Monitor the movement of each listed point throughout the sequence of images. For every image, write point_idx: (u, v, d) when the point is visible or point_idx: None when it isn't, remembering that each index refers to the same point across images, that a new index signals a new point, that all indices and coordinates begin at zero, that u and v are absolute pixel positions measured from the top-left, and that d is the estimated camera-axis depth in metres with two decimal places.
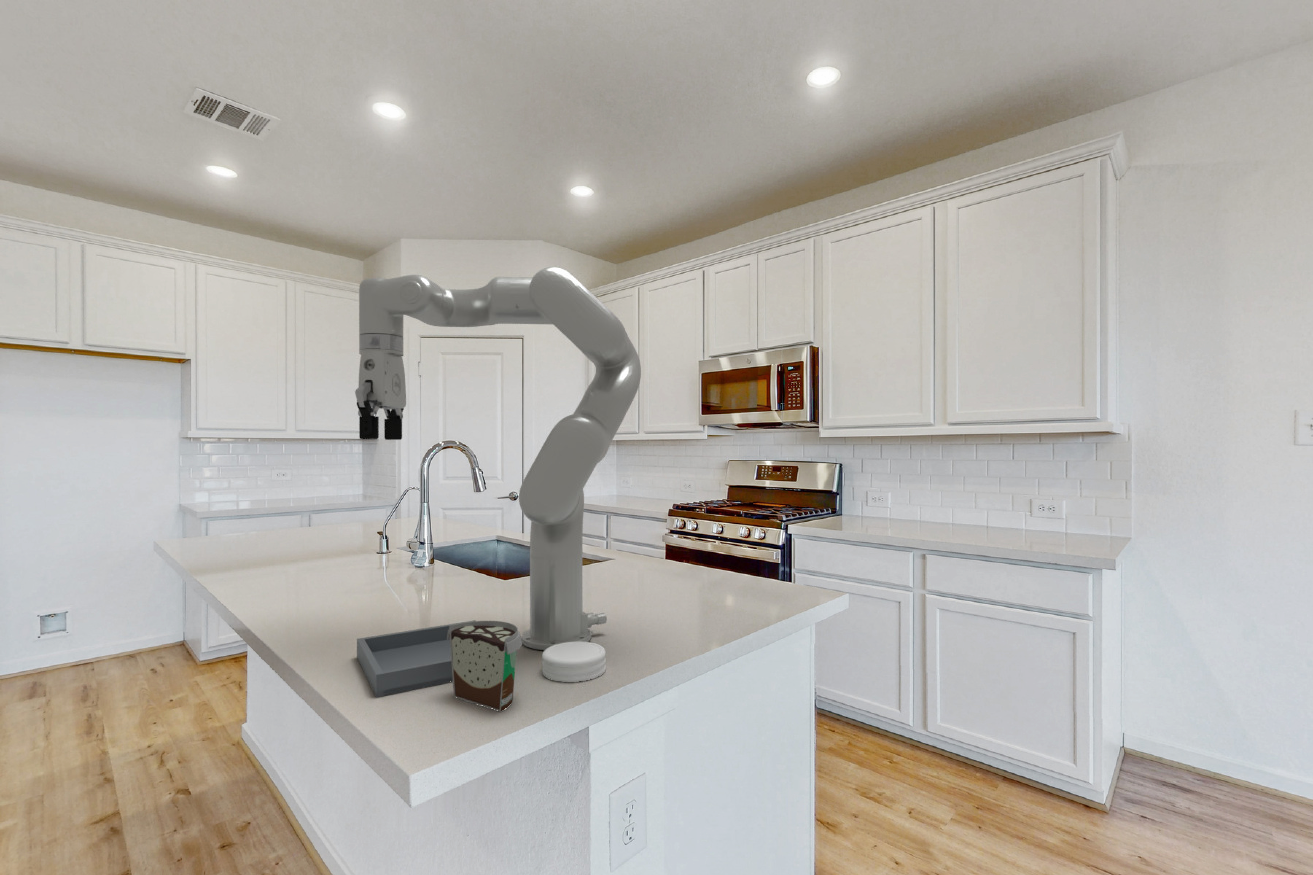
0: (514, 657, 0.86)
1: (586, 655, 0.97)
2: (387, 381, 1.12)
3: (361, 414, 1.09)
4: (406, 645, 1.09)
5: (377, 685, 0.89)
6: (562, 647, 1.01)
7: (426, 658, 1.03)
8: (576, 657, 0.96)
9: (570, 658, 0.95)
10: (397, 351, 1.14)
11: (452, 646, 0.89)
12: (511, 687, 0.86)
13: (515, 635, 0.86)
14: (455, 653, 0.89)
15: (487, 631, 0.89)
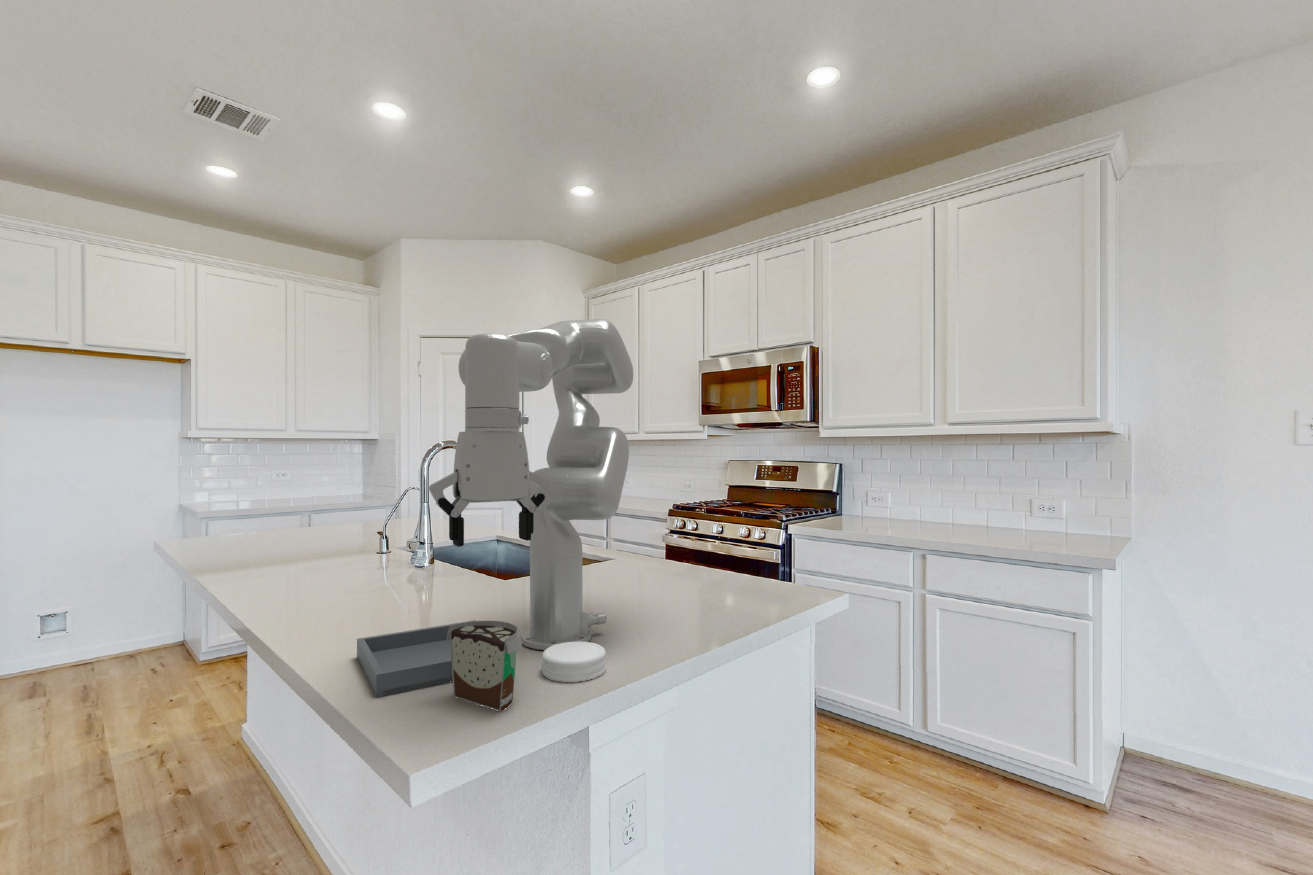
0: (514, 657, 0.86)
1: (586, 655, 0.97)
2: None
3: None
4: (406, 645, 1.09)
5: (377, 685, 0.89)
6: (562, 647, 1.01)
7: (426, 658, 1.03)
8: (576, 657, 0.96)
9: (570, 658, 0.95)
10: None
11: (452, 646, 0.89)
12: (511, 687, 0.86)
13: (515, 635, 0.86)
14: (455, 653, 0.89)
15: (487, 631, 0.89)
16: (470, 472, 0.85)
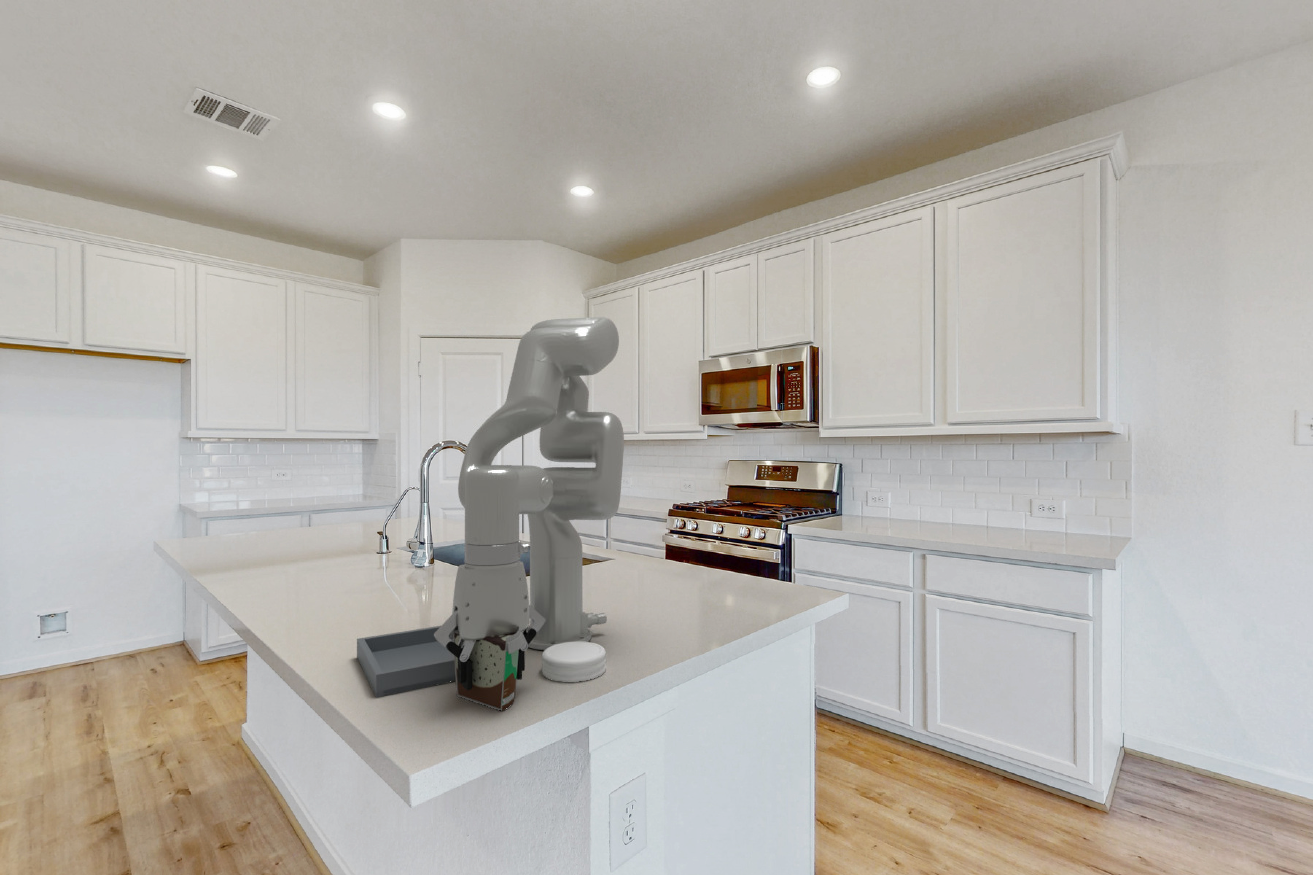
0: (516, 656, 0.86)
1: (586, 655, 0.97)
2: None
3: None
4: (406, 645, 1.09)
5: (377, 685, 0.89)
6: (562, 647, 1.01)
7: (426, 658, 1.03)
8: (576, 657, 0.96)
9: (570, 658, 0.95)
10: None
11: None
12: (513, 686, 0.86)
13: (517, 635, 0.86)
14: None
15: None
16: (470, 611, 0.85)
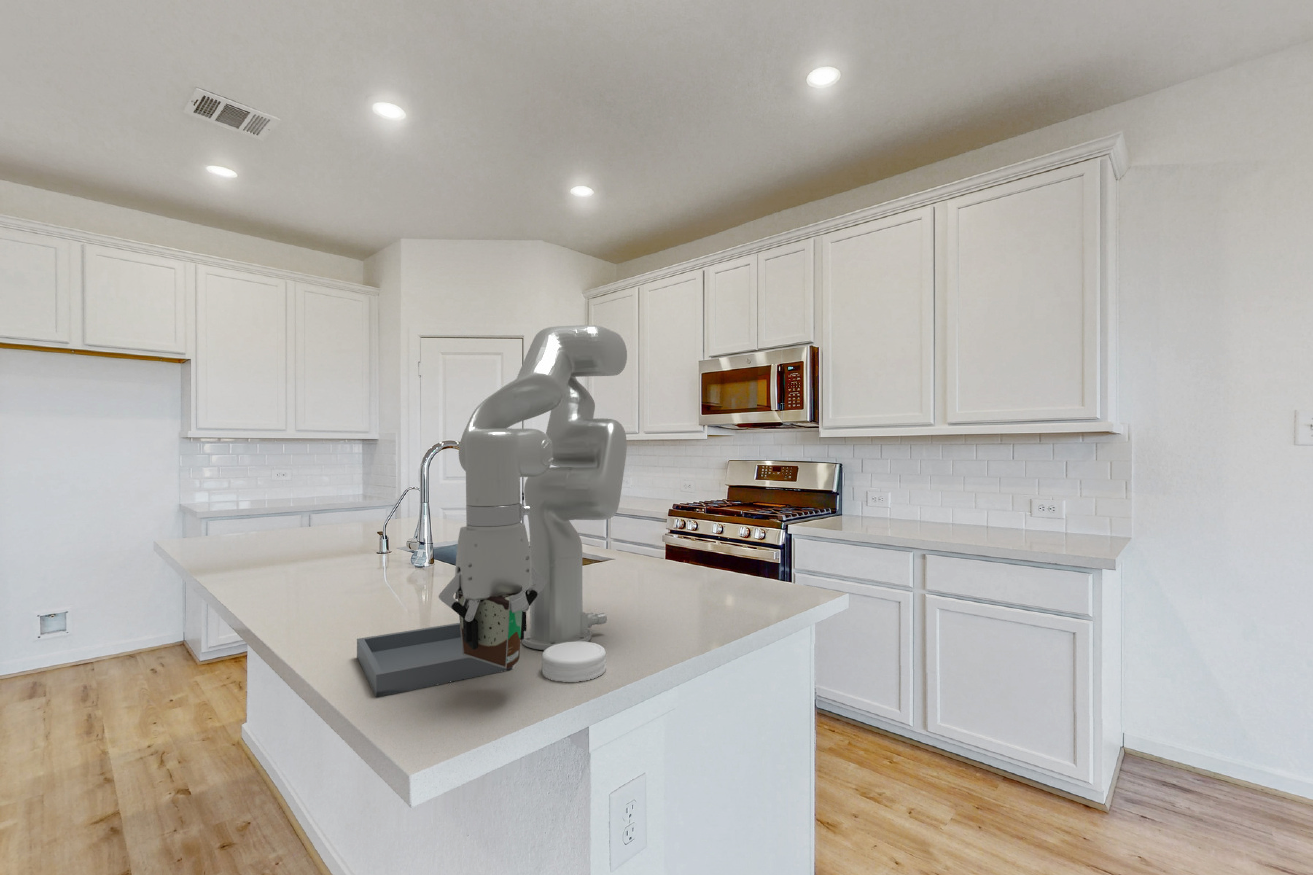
0: (519, 616, 0.87)
1: (586, 655, 0.97)
2: None
3: None
4: (406, 645, 1.09)
5: (377, 685, 0.89)
6: (562, 647, 1.01)
7: (426, 658, 1.03)
8: (576, 657, 0.96)
9: (570, 658, 0.95)
10: None
11: None
12: (517, 645, 0.87)
13: (520, 594, 0.87)
14: None
15: None
16: (472, 572, 0.86)
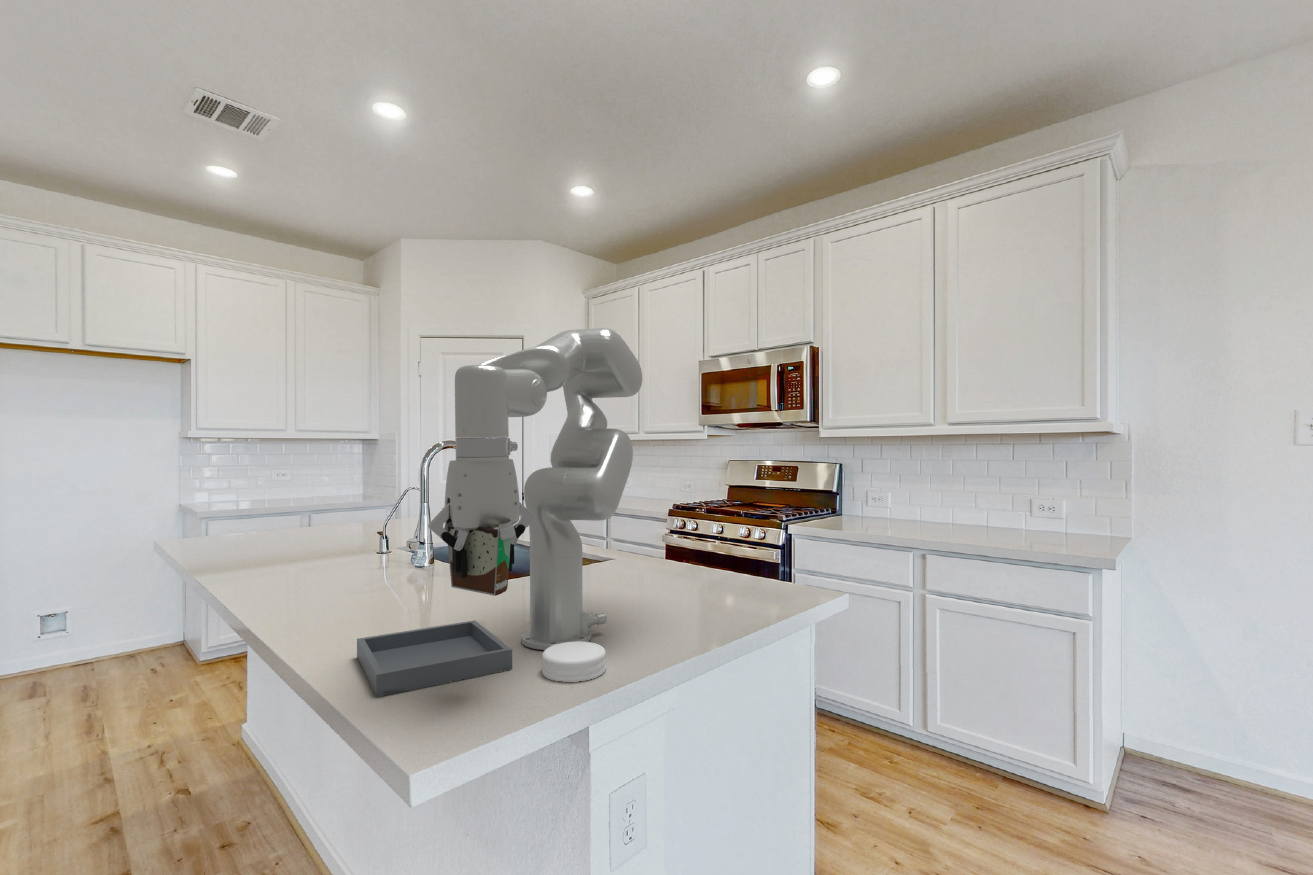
0: (508, 545, 0.89)
1: (586, 655, 0.97)
2: None
3: None
4: (406, 645, 1.09)
5: (377, 685, 0.89)
6: (562, 647, 1.01)
7: (426, 658, 1.03)
8: (576, 657, 0.96)
9: (570, 658, 0.95)
10: None
11: None
12: (505, 574, 0.89)
13: (508, 524, 0.89)
14: None
15: None
16: (462, 501, 0.88)
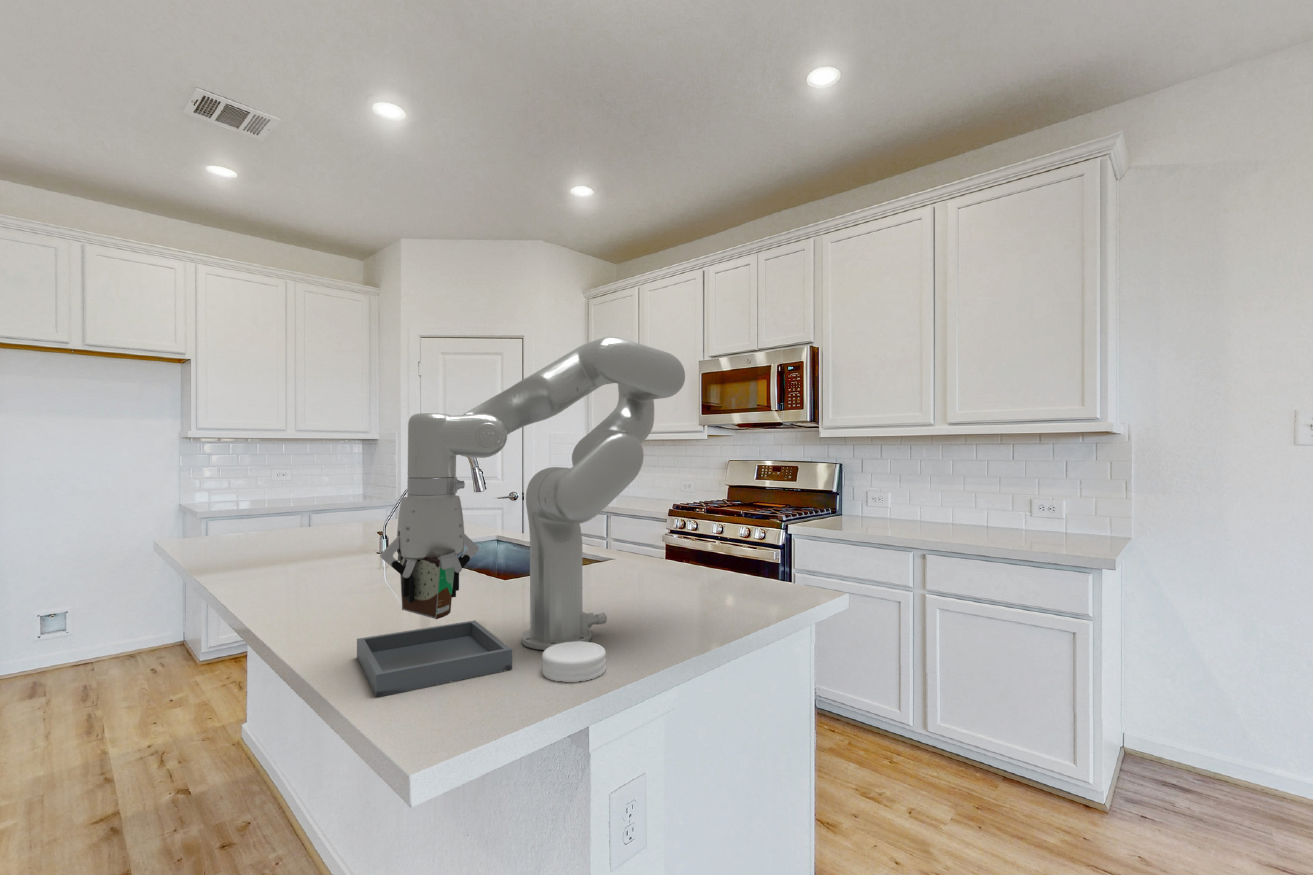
0: (450, 574, 1.00)
1: (586, 655, 0.97)
2: None
3: (460, 569, 1.04)
4: (406, 645, 1.09)
5: (377, 685, 0.89)
6: (562, 647, 1.01)
7: (426, 658, 1.03)
8: (576, 657, 0.96)
9: (570, 658, 0.95)
10: None
11: None
12: (447, 600, 1.00)
13: (451, 555, 1.00)
14: None
15: None
16: (410, 534, 0.99)
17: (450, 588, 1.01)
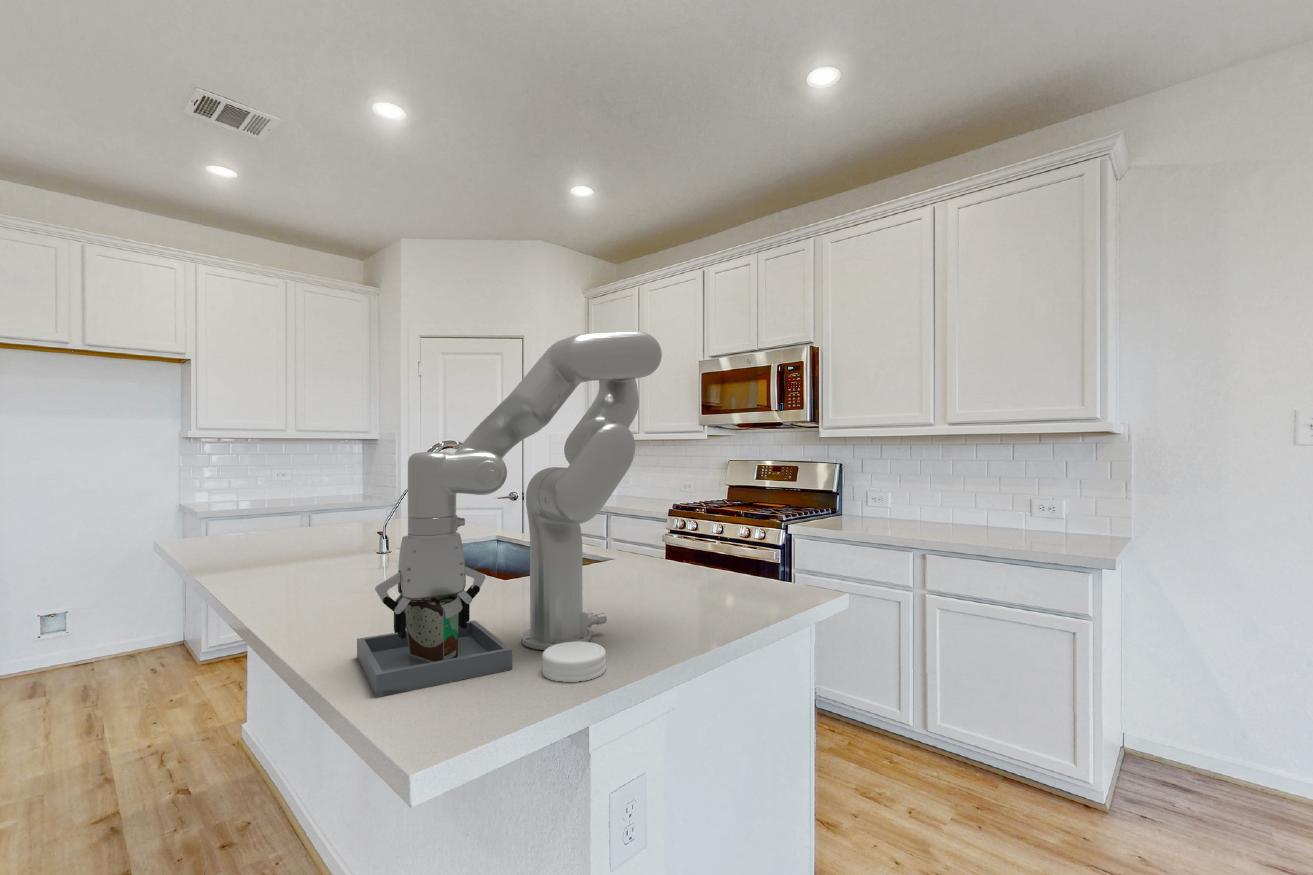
0: (454, 620, 1.00)
1: (586, 655, 0.97)
2: None
3: None
4: (406, 645, 1.09)
5: (377, 685, 0.89)
6: (562, 647, 1.01)
7: None
8: (576, 657, 0.96)
9: (570, 658, 0.95)
10: None
11: (405, 612, 1.04)
12: (453, 646, 1.01)
13: (454, 602, 1.00)
14: (408, 618, 1.04)
15: (434, 599, 1.04)
16: (411, 574, 0.99)
17: (455, 634, 1.01)
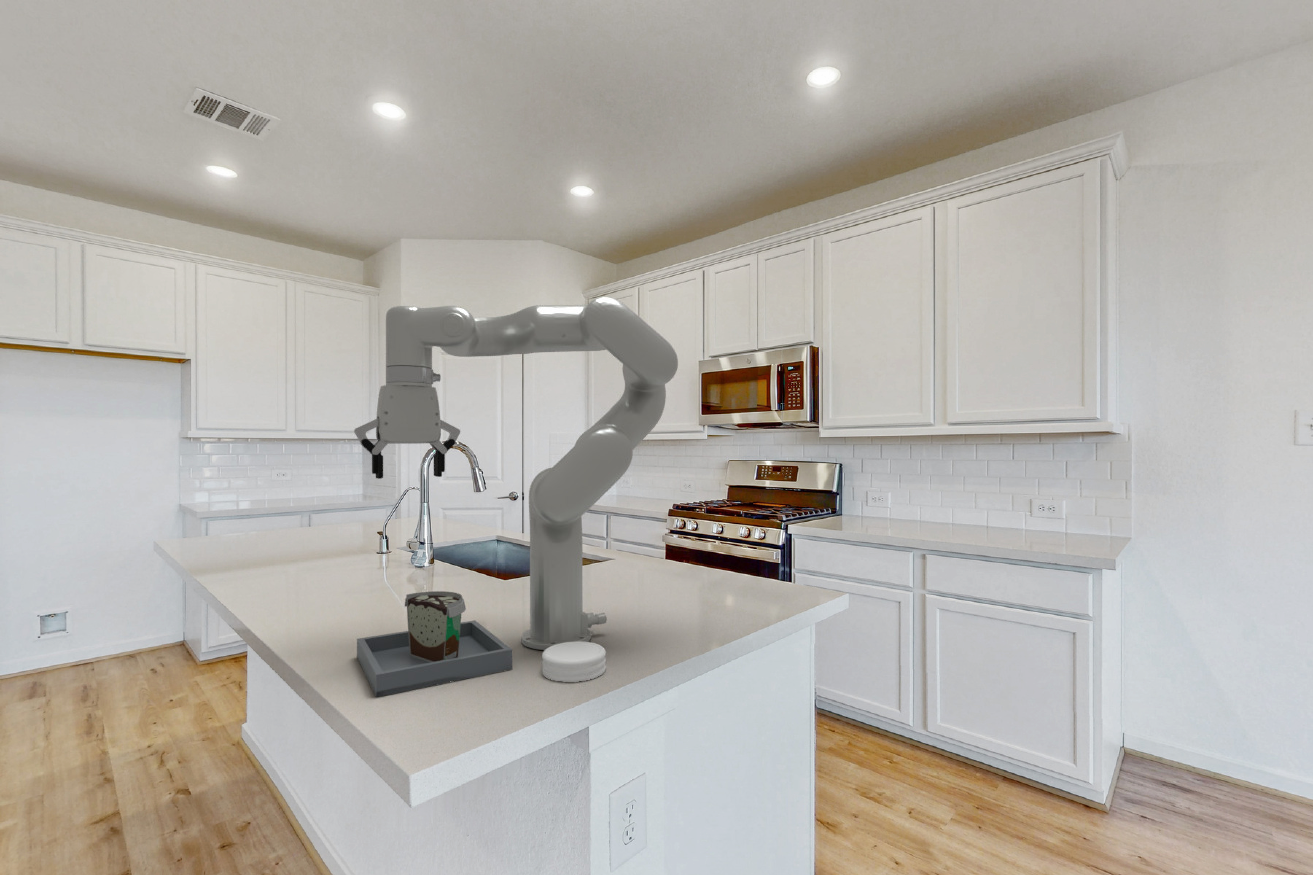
0: (457, 621, 1.01)
1: (586, 655, 0.97)
2: None
3: None
4: (406, 645, 1.09)
5: (377, 685, 0.89)
6: (562, 647, 1.01)
7: None
8: (576, 657, 0.96)
9: (570, 658, 0.95)
10: None
11: (408, 612, 1.05)
12: (455, 646, 1.01)
13: (458, 602, 1.00)
14: (411, 618, 1.04)
15: (438, 599, 1.04)
16: (388, 418, 1.05)
17: (457, 635, 1.01)
